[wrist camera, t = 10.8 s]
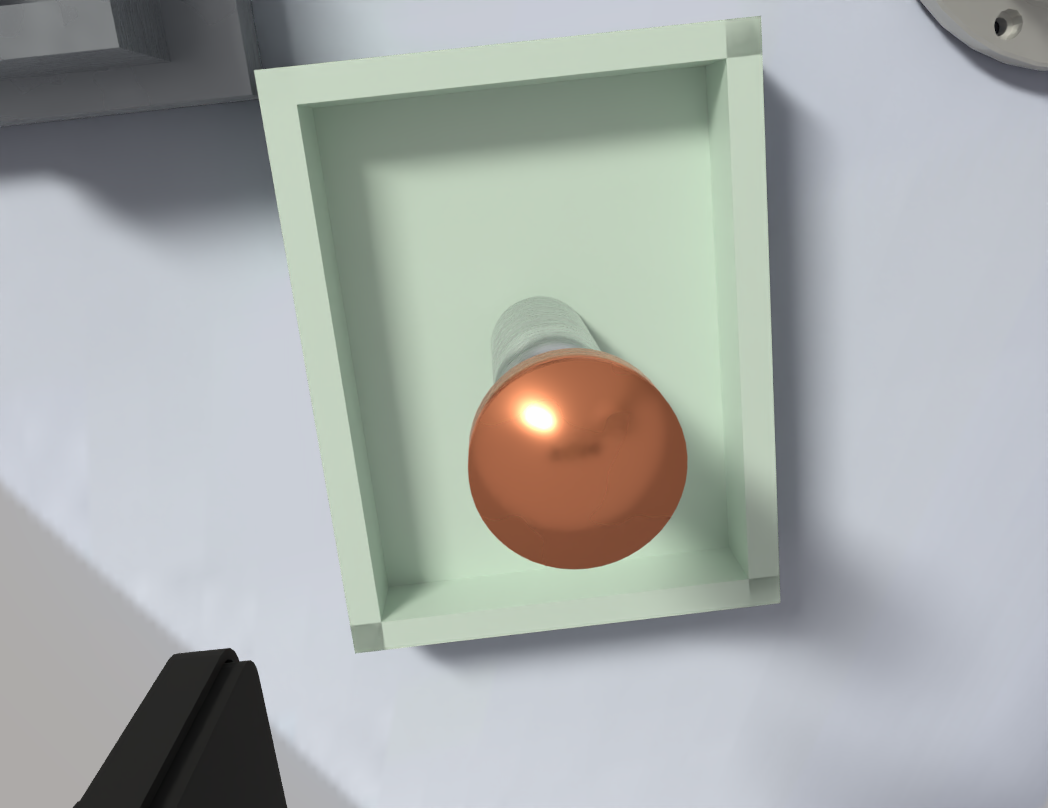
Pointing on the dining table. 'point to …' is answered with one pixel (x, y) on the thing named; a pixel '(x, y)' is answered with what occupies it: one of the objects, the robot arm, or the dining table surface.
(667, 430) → the lock pin
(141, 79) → the bracket
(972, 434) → the dining table surface
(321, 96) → the tray
